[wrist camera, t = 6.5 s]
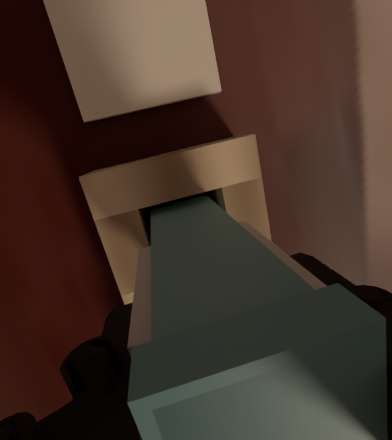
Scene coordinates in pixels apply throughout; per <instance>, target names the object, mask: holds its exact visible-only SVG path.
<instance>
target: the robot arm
mask: <svg viewBox="0 0 392 440" xmlns="http://www.w3.org/2000/svg"><path fill="white" fill-rule="evenodd" d="M238 223H239V224H240V225H241V226H242V227H244V228H245V229H246V230H247V231H248V232H249V233H251V234H252V235H253V236H254V237H255V238H256V239H257V240H259V241H260V242H261V243H262V244H263V245H264V246H265V247H267V248H268V249H269V250H270V251H271V252H272V253H274V254H275V255H276V256H277V257H278V258H279V259H280V260H282V261H283V262H284V263H285V264H286V265H287V266H288V267H290V268H291V269H292V270H293V271H294V272H295V273H297V274H298V275H299V276H300V277H301V278H302V279H303V280H305V281H306V282H307V283H308V284H309V285H310V286H312V287H313V288H314V289H315V290H317V289H320V288H323V287H326V286H330V285H333V284H336V283H339V284H340V285H341V286H343V287H344V288H346V289H347V290H348V291H350V292H351V293H352V294H354V295H355V296H356V297H358V298H359V299H361V300H362V301H363V302H365V303H366V304H367V305H369V306H370V307H372V308H373V309H374V310H376V311H377V312H378V313H380V314H381V315H383V316H384V317H385V318H386V361H387V432H388V440H392V293H390V292H388V291H387V290H384V289H381V288H378V287H375V286H367V285H360V286H356V285H354V284H353V283H351V282H350V281H348V280H347V279H345V278H344V277H342V276H341V275H339V274H338V273H336V272H335V271H334V270H332V269H330V268H329V267H328V266H326V265H325V264H322V262H320V261H319V260H317V259H316V258H314V257H313V256H310V255H306V254H303V253H298V254H294V255H291V256H289V255H287V254H286V253H285V252H283V251H282V250H281V249H280V248H278V247H277V246H276V245H275V244H273V243H272V242H271V241H270V240H268V239H267V238H266V237H265V236H263V235H262V234H261V233H259V232H258V231H257V230H256V229H254V228H253V227H252V226H251V225H249V224H248V223H247V222H246V221H241V222H238ZM103 329H104V330H103V332H102V335H101V336H99V337H95V338H92V339H90V340H88V341H86V342H84V343H82V344H80V345H79V346H78V347H76V348H75V349H74V350H73V351H71V352H70V353H69V355H68V356H67V357H66V358H65V359H64V361H63V363H62V365H61V368H60V372H61V374H62V376H63V378H64V380H65V382H66V384H67V386H68V388H69V390H70V392H71V395H72V397H73V400H72V401H70V402H69V403H68V404H66V405H65V406H63V407H62V408H60V409H59V410H57V411H55V412H53V413H52V414H50V415H48V416H47V417H45V418H43V419H42V420H40V421H38V422H37V421H36V419H35V418H34V416H33V415H31V414H29V413H28V412H23V413H16V414H14V415H12V416H9V417H7V418H5V419H3V420H2V421H0V440H142V437H141V435H140V432H139V430H138V428H137V425H136V423H135V420H134V418H133V415H132V413H131V411H130V408H129V406H128V403H127V401H128V390H129V379H130V367H131V356H132V346H136V345H139V344H142V343H145V342H149V341H151V246H149V247H145V248H142V249H139V253H138V262H137V270H136V279H135V287H134V295H133V302H132V303H129V304H126V305H122V306H119V307H115V308H113V310H112V311H111V312H110V314H109V315H108V316H107V318H106V320H105V324H104V328H103Z"/></svg>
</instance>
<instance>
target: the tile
mask: <svg viewBox="0 0 392 440" xmlns="http://www.w3.org/2000/svg"><path fill="white" fill-rule="evenodd" d="M43 1H44V4H45V7H46V10H47V13H48V16H49V19H50V22H51V25H52V28H53V31H54V34H55V37H56V40H57V43H58V46H59V49H60V52H61V55H62V58H63V61H64V64H65V67H66V70H67V73H68V76H69V79H70V82H71V85H72V88H73V91H74V94H75V97H76V100H77V103H78V106H79V109H80V112H81V115H82V118H83V121H84V122H85V123H88V122H92V121H97V120H101V119H106V118H110V117H114V116H119V115H123V114H128V113H132V112H136V111H141V110H145V109H150V108H154V107H159V106H163V105H167V104H172V103H176V102H181V101H185V100H189V99H194V98H198V97H203V96H207V95H212V94H216V93H220V92H221V86H220V80H219V75H218V69H217V63H216V58H215V52H214V47H213V41H212V36H211V30H210V25H209V19H208V14H207V8H206V3H205V0H43Z"/></svg>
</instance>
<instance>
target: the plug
mask: <svg viewBox="0 0 392 440" xmlns="http://www.w3.org/2000/svg"><path fill="white" fill-rule="evenodd" d="M127 403H128V406H129V408H130V411H131V413H132V415H133V418H134V420H135V423H136V425H137V428H138V430H139V432H140V435H141V437H142V440H388V432H387V361H386V318H385V317H384V316H383V315H381V314H380V313H378V312H377V311H376V310H374V309H373V308H372V307H370V306H369V305H367V304H366V303H365V302H363V301H362V300H361V299H359V298H358V297H356V296H355V295H354V294H352V293H351V292H350V291H348V290H347V289H346V288H344V287H343V286H341V285H340V284H339V283H336V284H333V285H330V286H326V287H323V288H320V289H317V290H315V289H314V288H313V287H312V286H310V285H309V284H308V283H307V282H306V281H305V280H303V279H302V278H301V277H300V276H299V275H298V274H297V273H295V272H294V271H293V270H292V269H291V268H290V267H288V266H287V265H286V264H285V263H284V262H283V261H282V260H280V259H279V258H278V257H277V256H276V255H275V254H274V253H272V252H271V251H270V250H269V249H268V248H267V247H265V246H264V245H263V244H262V243H261V242H260V241H259V240H257V239H256V238H255V237H254V236H253V235H252V234H251V233H249V232H248V231H247V230H246V229H245V228H244V227H242V226H241V225H240V224H239V223H238V222H237V221H236V220H234V219H233V218H232V217H231V216H230V215H229V214H227V213H226V212H225V211H224V210H223V209H222V208H221V207H219V206H218V205H217V204H216V203H215V202H214V201H213V200H211V199H210V198H209V197H208V196H207V195H204V196H200V197H196V198H192V199H188V200H185V201H181V202H177V203H173V204H169V205H165V206H162V207H158V208H154V209H151V341H149V342H145V343H142V344H139V345H136V346H132V356H131V367H130V379H129V390H128V401H127Z"/></svg>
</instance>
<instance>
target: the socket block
mask: <svg viewBox="0 0 392 440" xmlns="http://www.w3.org/2000/svg"><path fill="white" fill-rule="evenodd" d="M79 180H80V183H81V185H82V188H83V191H84V194H85V197H86V199H87V202H88V205H89V208H90V210H91V213H92V216H93V219H94V221H95V224H96V227H97V230H98V233H99V235H100V238H101V241H102V244H103V246H104V249H105V252H106V255H107V257H108V260H109V263H110V266H111V269H112V271H113V274H114V277H115V280H116V282H117V285H118V288H119V291H120V293H121V296H122V299H123V302H124V305H126V304H129V303H132V302H133V295H134V287H135V279H136V270H137V262H138V253H139V249H142V248H145V247H149V246H151V230H150V226H149V223H148V219H147V216H146V213H145V209H144V208H145V207H149V206H152V205H156V204H160V203H164V202H168V201H172V200H176V199H179V198H183V197H187V196H191V195H195V194H199V193H203V192H206V191H211V196H212V200H213V201H214V202H215V203H216V204H217V205H218V206H219V207H221V208H222V209H223V210H224V211H225V212H226V213H227V214H229V215H230V216H231V217H232V218H233V219H234V220H236V221H237V222H241V221H246V222H247V223H248V224H249V225H251V226H252V227H253V228H254V229H256V230H257V231H258V232H259V233H261V234H262V235H263V236H265V237H266V238H267V239H268V240H270V241H271V235H270V228H269V222H268V215H267V208H266V202H265V195H264V189H263V182H262V176H261V169H260V163H259V156H258V150H257V143H256V137H255V134H251V135H243V136H234V137H230V138H226V139H222V140H218V141H214V142H209V143H205V144H201V145H197V146H193V147H189V148H185V149H181V150H177V151H172V152H168V153H164V154H160V155H156V156H152V157H148V158H144V159H139V160H135V161H131V162H127V163H123V164H119V165H115V166H111V167H107V168H102V169H98V170H94V171H92V172H89V173H87V174H85V175H82V176H80V177H79ZM271 242H272V241H271Z"/></svg>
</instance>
